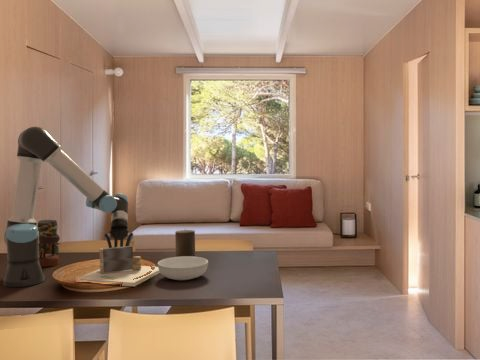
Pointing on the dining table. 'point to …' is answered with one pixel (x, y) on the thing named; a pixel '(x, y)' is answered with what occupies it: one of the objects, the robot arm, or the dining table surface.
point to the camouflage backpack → (53, 230)
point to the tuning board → (121, 276)
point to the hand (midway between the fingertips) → (118, 266)
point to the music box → (48, 247)
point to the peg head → (118, 259)
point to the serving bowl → (182, 267)
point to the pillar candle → (185, 243)
